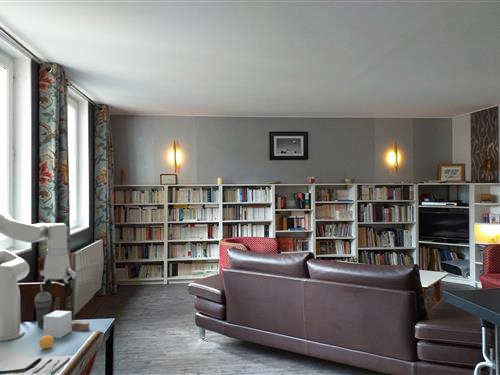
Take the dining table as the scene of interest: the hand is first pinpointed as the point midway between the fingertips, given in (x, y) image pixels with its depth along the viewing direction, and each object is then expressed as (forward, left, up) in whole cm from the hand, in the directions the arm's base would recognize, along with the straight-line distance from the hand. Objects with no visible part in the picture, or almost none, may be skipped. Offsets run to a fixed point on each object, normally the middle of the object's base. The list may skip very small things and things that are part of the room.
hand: (57, 291), depth 166 cm
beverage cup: (-14, +8, -19) cm, 25 cm away
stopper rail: (+5, +7, -19) cm, 20 cm away
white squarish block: (0, 0, -19) cm, 19 cm away
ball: (+6, -14, -16) cm, 22 cm away
